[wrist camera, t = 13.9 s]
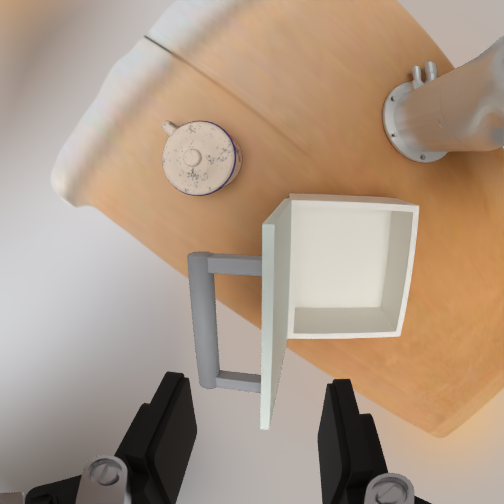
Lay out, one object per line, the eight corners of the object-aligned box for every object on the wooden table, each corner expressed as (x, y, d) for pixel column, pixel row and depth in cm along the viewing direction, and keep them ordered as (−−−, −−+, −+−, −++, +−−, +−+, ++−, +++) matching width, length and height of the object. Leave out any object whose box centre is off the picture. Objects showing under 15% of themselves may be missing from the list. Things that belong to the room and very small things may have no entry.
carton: (289, 193, 44) (291, 200, 36) (394, 197, 43) (419, 205, 35) (286, 309, 49) (287, 338, 41) (382, 308, 48) (400, 336, 39)
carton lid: (291, 198, 36) (231, 197, 37) (274, 224, 20) (173, 222, 21) (286, 340, 41) (235, 335, 42) (269, 429, 25) (195, 418, 26)
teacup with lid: (257, 157, 44) (249, 154, 32) (214, 202, 46) (193, 215, 35) (197, 104, 42) (171, 86, 31) (157, 149, 44) (121, 147, 33)
